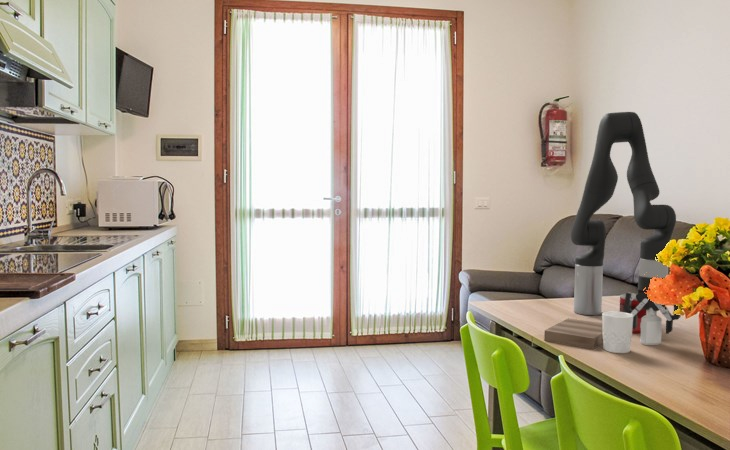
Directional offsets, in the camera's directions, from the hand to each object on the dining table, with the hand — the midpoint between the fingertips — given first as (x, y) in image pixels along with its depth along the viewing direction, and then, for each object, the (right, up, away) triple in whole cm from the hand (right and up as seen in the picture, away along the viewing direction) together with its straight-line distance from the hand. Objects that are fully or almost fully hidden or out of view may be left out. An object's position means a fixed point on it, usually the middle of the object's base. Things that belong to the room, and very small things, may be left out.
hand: (651, 330), depth 163 cm
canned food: (+2, -3, +15) cm, 16 cm away
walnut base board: (-18, -3, +7) cm, 19 cm away
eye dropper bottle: (0, -4, 0) cm, 4 cm away
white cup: (-13, -4, -6) cm, 15 cm away
